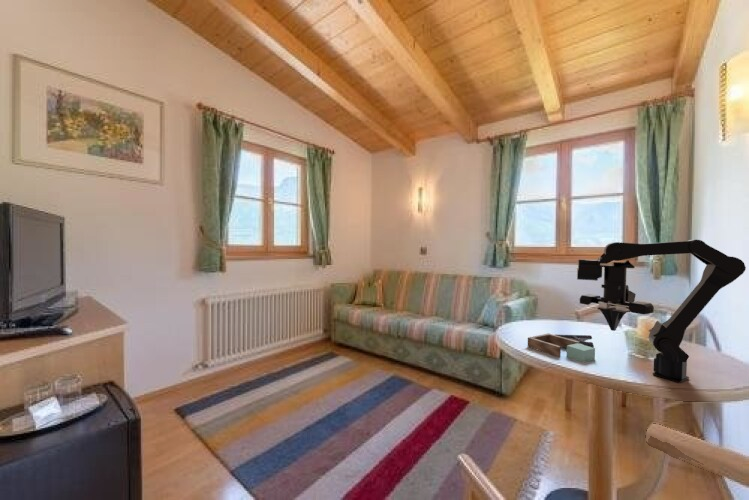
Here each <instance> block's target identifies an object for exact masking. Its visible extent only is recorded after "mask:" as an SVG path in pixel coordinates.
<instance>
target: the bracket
mask: <svg viewBox="0 0 749 500" xmlns="http://www.w3.org/2000/svg"><path fill="white" fill-rule="evenodd" d="M555 335H556V336H560V337H564V338H567V339H571V340H575V341H578V342H580V344H582V345H585V346H589V347H592V348H595V346H594V343H593V341H592V342H591V341H587V340H592V339H593V337H592V335H590V334H589V335H585V334H584V335H583V334H580V335H579V334H555Z"/></svg>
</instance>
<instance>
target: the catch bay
mask: <svg viewBox="0 0 749 500" xmlns="http://www.w3.org/2000/svg"><path fill="white" fill-rule="evenodd" d="M556 335H557V334H551V333H549V332H548V333H543V334H538V335H533V336H530V337H527V347H528V346H529V347H528V348H530V347H532V348H531V349H533V348H535V349H534V350H536V349H538V350H537V351H539V350H540V351H539V352H542V351H543V353H545V352H546V353H545V354H548V353H549V354H548V355H551V354H552V355H551V356H554V355H555V357H557V356H558V357H557V358H560V357H561V350H562V348H563V349H566V350H567V345H572V344H576V343H578V344H581V343H580V342H578V341H575V340H571V339H572V338H571V339H567V338H564V337H560V336H556Z"/></svg>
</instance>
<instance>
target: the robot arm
mask: <svg viewBox="0 0 749 500" xmlns="http://www.w3.org/2000/svg"><path fill="white" fill-rule="evenodd" d="M680 254H685V255H686V254H691V255H692V256H694V257H695V258H696V259H698V260H699V261H700V262H701V263H703V264H705V267H704V269H703V271H702V275H701V279H700V281H699V282H698V283H697V285H696V286H695V287H694V288H693V289H692V291H691V292H690V293H689V294H688V295H687V297H686V298H685V299H684V300H683V301H682V303H681V304H680V305H679V307H677V309H676V310H675V311H674V313H673V314H672V315H671V316H670V317H669V318H668V319H667V320H666V321H664V322H660V321H659V320H657V321H655V323H654V325H653V326H652V327H651V328H650V329H649V330H648V332H649V334H648V339H649V342H650V343H651V345H652V346H653V347H654V349H656V350H657V351H658V353H656V354H655V357H654V358H653V372H652V375H653V376H655V377H658V378H663V379H664V380H665V379H666V380H669V381H673V382H676V383H682V382H684V381H687V380H689V379H690V377H689V376H687V371H688V370H687V369H688V368H687V367H688V360H689V357H690V356H689V355H688V353H687V352H686V351H685V350H684V349H682V348H681V347H680V346H681V344H682V342H683V340H684V336H685V332H686V330H687V328H688V327H689V326H690V325H691V324H692V322H693V321H694V320H695V319H696V318H697V317H698V316H699V314H700V313H701V312H702V311H703V310H704V308H705V307H706V306H707V305H708V304H709V303H710V301H711V300H712V299H713V298H714V297H715V296H716V295H717V294H718V292H719V291H720V290H721V289H722V288H725V287H726V286H728V285H730V284H731V283H733V282H734V281H736V280H737V279H738V278H739V277H741V276H742V275H744V273H745V271H746V269H747V268H746V267H747V266H746V265H745V263H744V261H743V260H742V259H740V258H738V257H735V256H729V255H727V254H726V253H723V252H721V251H720V250H718V249H716V248H714V247H712V246H710V245H708V244H707V243H706V242H704V241H703V240H700V239H689V240H682V241H681V240H679V241H678V240H677V241H663V242H651V243H650V242H649V243H631V242H630V243H629V242H619V241H617V242H615V241H614V242H610V243H607V244H606V246H605V247H604V249H603V253H602V254H601V255H600V256H599V257H598V258H597V259H596V260H595V259H583V258H581V259H580V258H579V259H578V264H577V268H576V269H577V270H576V271H577V273H576V277H577V278H576V279H577V280H580V281H596V282H597V281H598V279H601V278H602V277H603V283H602V284H601V286H600V287H601V288H602V289H603V296H602V297H601V296H600V295H597V294H589V293H588V294H583V295H581V296H579V304H580V305H587V306H589V305H591V304H597V305H598V307H597V310H600V312H601V313H602V315H603V317H604V318H605V321H606V322H607V325H608V326H609V329H610V331H613V332H615V331H616V330H617V329H618V326H619V325H620V323H621V320H622V319H623V317H624V316H625V314H627V313H633V314H638V315H649V314H654V310H655V308H654V305H653V304H652V302H645V301H635V299H636V294H637V293H635V292H633V291H631V290H629V289H630V288H629V285H628V284H627V269H635V265H633V264H632V263H631V261H629V260H630V259H634V258H639V257H643V256H660V255H661V256H662V255H666V256H667V255H680ZM624 260H625V261H624ZM613 261H614V262H613ZM619 261H620V262H619ZM621 261H623V262H621ZM611 262H612V264H609V263H611ZM603 269H604V270H603Z"/></svg>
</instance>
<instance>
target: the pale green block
mask: <svg viewBox="0 0 749 500" xmlns="http://www.w3.org/2000/svg"><path fill="white" fill-rule="evenodd" d="M566 357H568V358H571V359H574V360H577V361H578V362H579V361H580V362H582V363H585V362H589V361H594V360H595V359H596V348H595V347H594V348H592V347H589V346H585V345H583V344H581V343H580V344H578V343H576V344H572V345H567V349H566Z"/></svg>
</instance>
